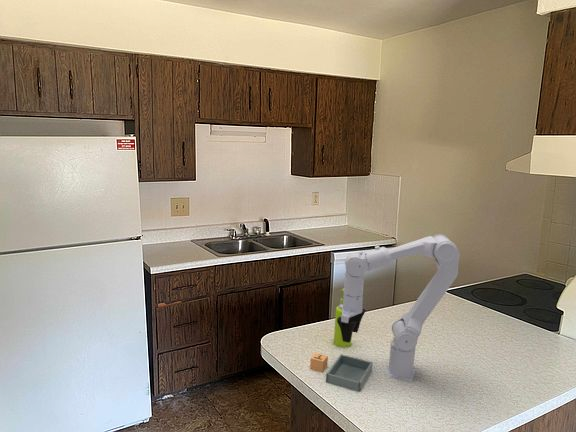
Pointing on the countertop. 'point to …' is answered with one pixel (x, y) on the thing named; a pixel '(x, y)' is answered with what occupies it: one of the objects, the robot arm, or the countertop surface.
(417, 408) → the countertop surface
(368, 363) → the bin
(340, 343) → the soap dispenser
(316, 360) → the letter cube
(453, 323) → the countertop surface
